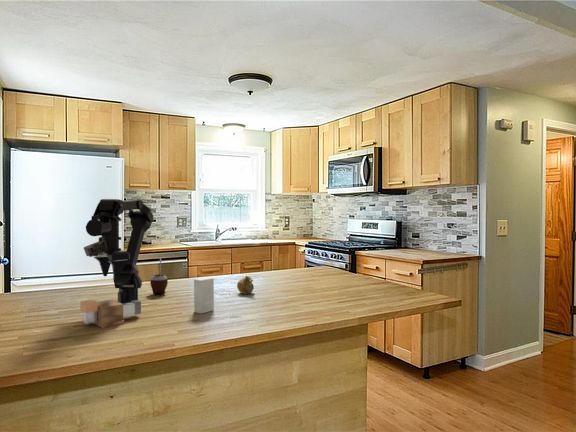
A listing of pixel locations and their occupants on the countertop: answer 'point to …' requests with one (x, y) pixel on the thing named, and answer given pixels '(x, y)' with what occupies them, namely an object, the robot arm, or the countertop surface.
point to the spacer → (88, 306)
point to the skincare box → (203, 294)
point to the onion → (245, 285)
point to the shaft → (128, 309)
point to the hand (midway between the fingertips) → (110, 277)
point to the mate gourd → (159, 283)
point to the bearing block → (109, 313)
